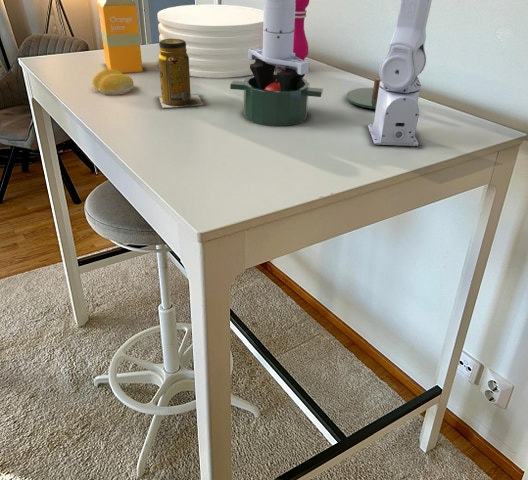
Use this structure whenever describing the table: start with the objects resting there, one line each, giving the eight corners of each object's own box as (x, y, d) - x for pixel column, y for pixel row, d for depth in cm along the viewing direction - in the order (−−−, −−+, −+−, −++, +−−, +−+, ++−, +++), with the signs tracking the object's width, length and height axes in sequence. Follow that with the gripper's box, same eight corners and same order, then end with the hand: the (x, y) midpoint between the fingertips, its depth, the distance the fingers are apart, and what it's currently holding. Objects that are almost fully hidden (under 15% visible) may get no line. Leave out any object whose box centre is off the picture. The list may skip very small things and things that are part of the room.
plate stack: (140, 59, 142) (135, 10, 136) (224, 45, 158) (223, 1, 151) (205, 84, 126) (203, 30, 119) (292, 66, 141) (294, 17, 135)
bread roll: (107, 98, 116) (105, 78, 114) (88, 88, 121) (85, 69, 119) (142, 91, 120) (140, 72, 118) (121, 81, 126) (119, 63, 124)
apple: (289, 116, 108) (290, 83, 104) (261, 115, 108) (262, 82, 104) (288, 107, 112) (290, 75, 108) (262, 106, 112) (262, 74, 108)
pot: (315, 130, 104) (318, 96, 100) (223, 121, 107) (223, 87, 103) (323, 109, 114) (326, 77, 110) (239, 101, 117) (239, 70, 113)
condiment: (159, 97, 117) (153, 37, 110) (198, 95, 119) (195, 36, 112) (162, 108, 111) (157, 45, 104) (203, 106, 113) (201, 44, 106)
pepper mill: (291, 74, 135) (297, -18, 123) (273, 67, 140) (276, -22, 128) (313, 69, 139) (320, -20, 127) (294, 63, 143) (299, -24, 132)
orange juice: (111, 73, 131) (98, -22, 119) (105, 64, 138) (92, -27, 126) (143, 71, 134) (134, -23, 122) (136, 62, 140) (127, -28, 128)
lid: (408, 115, 113) (413, 90, 110) (342, 108, 115) (345, 84, 112) (408, 95, 123) (412, 73, 120) (348, 90, 125) (350, 68, 123)
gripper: (322, 34, 99) (316, 109, 107) (267, 21, 107) (265, 91, 115) (295, 39, 95) (291, 116, 103) (240, 25, 103) (240, 98, 111)
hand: (275, 104), depth 109 cm, fingers closed on apple, 5 cm apart
